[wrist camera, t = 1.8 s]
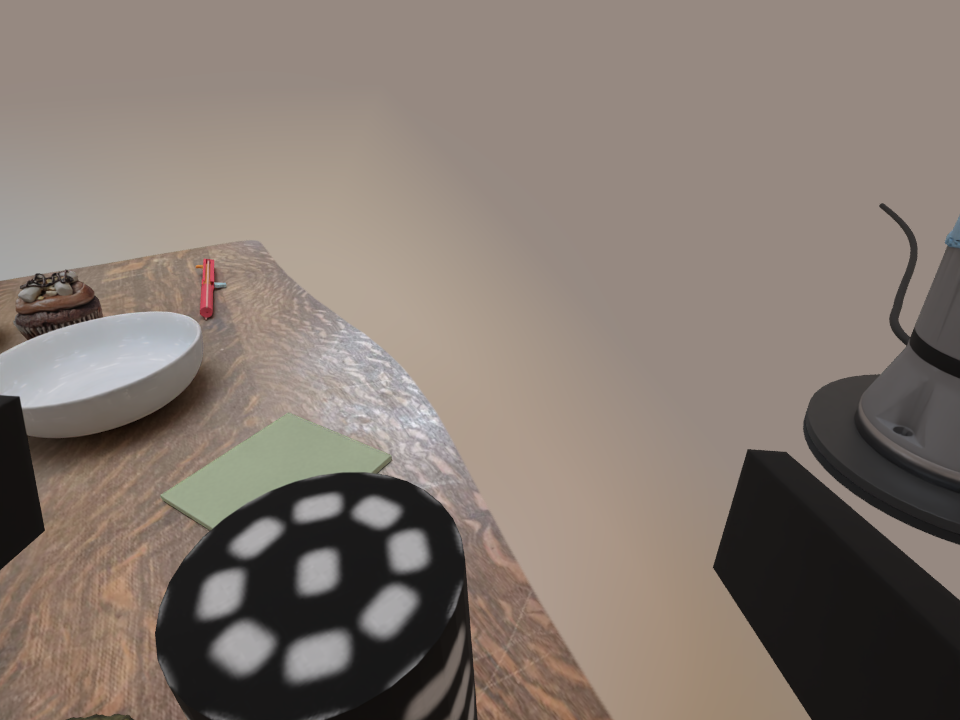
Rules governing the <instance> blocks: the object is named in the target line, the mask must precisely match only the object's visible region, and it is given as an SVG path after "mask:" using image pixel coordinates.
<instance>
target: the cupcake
mask: <svg viewBox="0 0 960 720" xmlns="http://www.w3.org/2000/svg"><path fill="white" fill-rule="evenodd" d="M20 289H23V290H22V291H21V292H20V293H19V294H18V296H19V298H18V299H17V301H16V312H18V314H17V315H16V317H15V319H14V320H15V321H13V322H14V325H15V326H16V327H17V329H18V330H19V331H20V332H21V333H22V335H23V336H24V337H25V338H26V339H27V340H30V339H32V338H35V337H37V336H40V335H43V334H45V333H48V332H51V331H54V330H57V329H60V328H63V327H67V326H70V325H74V324H77V323H81V322H85V321H89V320H94V319H98V318H103V314H102V309H101V305H100V302H99V299H98V298H97V297H96V296H94V291H93V290H92V288H90V287H89V286H87V285H86V284H84V283H82V282H80V281H78V276H77V274H76V273H75V272H73V271H67V270H65V271H61V272H59V273H54V274H52V276H51V277H48V278H45V277H44V275H43V274H35V277H34V279H32V280H31V281H27V283H26V284H25V285H21V286H20Z"/></svg>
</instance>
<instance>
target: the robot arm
mask: <svg viewBox="0 0 960 720" xmlns="http://www.w3.org/2000/svg"><path fill="white" fill-rule="evenodd" d="M880 208H881V209H883V210H884V211H885V212H886V213H887V214H888V215H890V216H891V217H892V218H893V219H894V220H895V221H896V222H897V223H898V224H899V225H900V227H901V228H902V229H903V230H904V232H905V234H906V235H907V237H908V240H909V243H910V247H911V252H910V259H909V263H908V266H907V269H906V272H905V274H904V276H903V279H902V281H901V284H900V286H899V289H898V292H897V294H896V297H895V301H894V305H893V308H892V311H891V314H890V318H889V320H890V326H891V328H892V331H893V332H894V334H895V335H896V336H897V337H898V338H899V339H900V340H901V341H902V342H903V343H904V344H905V345H906V348H905V349H904V350H903V351H902V352H901V353H900V354H899V356H897V357H896V359H895V360H894V361H893V362H892V363H891V364H890V365H889V366H888V367H887V368H886V369H885V370H884V371H883V373H882V374H881V375H880V376H879V377H878V378H877V379H876V380H875V381H874V382H873V383H872V384H871V385H870V386H869V387H868V389H867V390H866V391H865V392H864V393H863V394H862V397H861V399H860V402H859V404H858V407H857V410H856V413H855V424H856V427H857V429H858V431H859V433H860V434H861V436H862V437H863V438H864V440H865V441H866V442H867V443H868V444H869V445H870V446H871V447H872V448H873V449H874V450H876V451H877V452H878V453H879V454H881V455H882V456H883V457H885V458H886V459H888V460H889V461H890V462H892V463H894V464H895V465H897V466H898V467H900V468H902V469H904V470H905V471H907V472H909V473H911V474H913V475H915V476H917V477H919V478H921V479H924V480H926V481H928V482H931V483H933V484H936V485H938V486H941V487H944V488H946V489H949V490H952V491H955V492H959V493H960V216H959V218H958V220H957V222H956V224H955V226H954V228H953V230H952V231H951V232H950V233H949V234H948V235H947V237H946V240H945V244H947V245H948V246H947V249H946V251H945V253H944V256H943V259H942V261H941V263H940V266H939V268H938V271H937V273H936V275H935V278H934V280H933V283H932V285H931V288H930V290H929V293H928V295H927V297H926V300H925V302H924V305H923V307H922V310H921V312H920V315H919V317H918V319H917V322H916V324H915V327H914V330H913V332H912V335H911V337H909V336H908V335H907V334H906V333H905V332H904V330H903V329H902V328H901V326H900V324H899V321H898V318H899V314H900V311H901V308H902V304H903V299H904V296H905V293H906V290H907V287H908V284H909V282H910V279H911V277H912V274H913V271H914V268H915V265H916V261H917V243H916V239H915V237H914V235H913V232H912V231H911V229H910V228H909V227H908V225H907V224H906V223H905V222H904V221H903V220H902V219H901V218H900V217H899V216H898V215H897V214H896V213H894V212H893V211H892V210H891V209H890V208H888V207H887V206H886V205H885V204H883V203H882V204H880ZM44 531H45V529H44V523H43V518H42V513H41V507H40V502H39V497H38V491H37V486H36V481H35V475H34V470H33V465H32V459H31V454H30V449H29V443H28V438H27V433H26V428H25V422H24V417H23V412H22V406H21V401H20V396H6V395H0V570H1V569H2V568H3V567H4V566H5V565H6V564H8V563H9V562H10V561H11V560H12V559H13V558H14V557H15V556H17V555H18V554H19V553H20V552H21V551H22V550H23V549H25V548H26V547H27V546H28V545H29V544H30V543H31V542H32V541H34V540H35V539H36V538H37V537H38V536H39V535H40V534H42V533H43V532H44ZM713 568H714V570H715V571H716V573H717V574H718V576H719V577H720V579H721V581H722V582H723V584H724V585H725V587H726V588H727V590H728V591H729V593H730V594H731V596H732V597H733V599H734V601H735V602H736V603H737V605H738V607H739V608H740V610H741V611H742V613H743V614H744V616H745V618H746V619H747V621H748V622H749V624H750V625H751V627H752V628H753V630H754V631H755V633H756V635H757V636H758V638H759V639H760V641H761V642H762V644H763V645H764V647H765V648H766V650H767V651H768V653H769V654H770V656H771V658H772V659H773V661H774V662H775V664H776V665H777V667H778V668H779V670H780V671H781V673H782V674H783V676H784V678H785V679H786V681H787V682H788V684H789V685H790V687H791V688H792V690H793V692H794V693H795V695H796V696H797V697H798V699H799V701H800V702H801V704H802V705H803V707H804V708H805V710H806V712H807V713H808V715H809V716H810V718H811V719H812V720H960V600H959V599H957V598H956V597H955V596H954V595H953V594H952V593H951V592H949V591H948V590H947V589H946V588H945V587H944V586H942V585H941V584H940V583H939V582H938V581H936V580H935V579H934V578H933V577H931V575H929V574H928V573H927V572H926V571H925V570H924V569H922V568H921V567H920V566H919V565H918V564H917V563H915V562H914V561H913V560H912V559H911V558H910V557H908V556H907V555H906V554H905V553H904V552H903V551H901V550H900V549H899V548H898V547H897V546H896V545H894V544H893V543H892V542H891V541H890V540H888V539H887V538H886V537H885V536H884V535H883V534H881V533H880V532H879V531H878V530H877V529H875V528H874V527H873V526H872V525H871V524H870V523H868V522H867V521H866V520H865V519H864V518H863V517H862V516H860V515H859V514H858V513H857V512H856V511H854V510H853V509H852V508H851V507H850V506H849V505H847V504H846V503H845V502H844V501H843V500H842V499H840V498H839V497H838V496H837V495H836V494H835V493H833V492H832V491H831V490H830V489H829V488H828V487H826V486H825V485H824V484H823V483H822V482H820V481H819V480H818V479H817V478H816V477H815V476H813V475H812V474H811V473H810V472H809V471H808V470H806V469H805V468H804V467H803V466H802V465H801V464H799V463H798V462H797V461H796V460H795V459H793V458H792V457H791V456H790V455H789V454H788V453H787V452H778V451H764V450H751V449H748V450H747V454H746V457H745V461H744V464H743V467H742V471H741V474H740V478H739V481H738V485H737V488H736V491H735V495H734V498H733V501H732V505H731V509H730V511H729V515H728V518H727V522H726V525H725V528H724V532H723V535H722V539H721V542H720V545H719V549H718V552H717V556H716V559H715V562H714V566H713Z"/></svg>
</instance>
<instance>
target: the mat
mask: <svg viewBox="0 0 960 720" xmlns="http://www.w3.org/2000/svg"><path fill="white" fill-rule="evenodd" d="M391 460H392V457H391V455H389V454H387V453H385V452H382V451H380V450H377V449H375V448H372V447H370V446H368V445H365V444H363V443H360V442H358V441H356V440H353V439H351V438H348V437H346V436H344V435H341V434H339V433H336V432H334V431H332V430H329V429H327V428H324V427H322V426H320V425H317V424H315V423H312V422H310V421H308V420H305V419H303V418H300V417H298V416H296V415H293V414H291V413H287V414H286V415H284V416H282V417H281V418H279V419H278V420H276V421H275V422H273V423H272V424H270V425H268V426H267V427H265V428H264V429H262V430H261V431H259V432H258V433H256V434H254V435H253V436H251V437H250V438H248V439H247V440H245V441H244V442H242V443H241V444H239V445H237V446H236V447H234V448H233V449H231V450H230V451H228V452H227V453H225V454H223V455H222V456H220V457H219V458H217V459H216V460H214V461H213V462H211V463H209V464H208V465H206V466H205V467H203V468H202V469H200V470H199V471H197V472H196V473H194V474H192V475H191V476H189V477H188V478H186V479H185V480H183V481H182V482H180V483H178V484H177V485H175V486H174V487H172V488H171V489H169V490H168V491H166V492H164V493H163V494H161V495H160V496H161V498H162V500H163V501H165V502H166V503H168V504H169V505H171V506H172V507H174V508H176V509H177V510H179V511H180V512H182V513H183V514H185V515H187V516H188V517H190V518H191V519H193V520H195V521H196V522H198V523H199V524H201V525H202V526H204V527H206V528H207V529H209V530H212V529H213V528H214V527H215V526H216V525H217V524H218V523H220V522H221V521H222V520H223V519H224V518H226V517H227V516H229V515H230V514H232V513H233V512H235V511H236V510H237V509H239V508H240V507H242V506H243V505H245V504H246V503H248V502H250V501H252V500H254V499H256V498H258V497H260V496H262V495H263V494H265V493H267V492H269V491H272V490H274V489H277V488H279V487H282V486H284V485H287V484H290V483H292V482H295V481H299V480H303V479H307V478H311V477H315V476H318V475H326V474H333V473H341V472H367V473H374V474H377V473H378V472H379V471H380V470H381V469H382V468H383V467H385V466H386V465H387V464H388V463H389V462H390V461H391Z"/></svg>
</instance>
